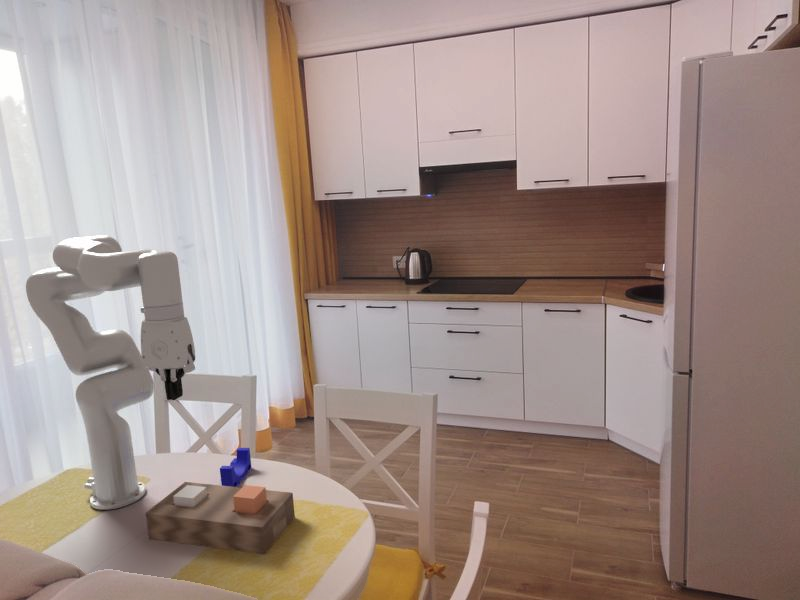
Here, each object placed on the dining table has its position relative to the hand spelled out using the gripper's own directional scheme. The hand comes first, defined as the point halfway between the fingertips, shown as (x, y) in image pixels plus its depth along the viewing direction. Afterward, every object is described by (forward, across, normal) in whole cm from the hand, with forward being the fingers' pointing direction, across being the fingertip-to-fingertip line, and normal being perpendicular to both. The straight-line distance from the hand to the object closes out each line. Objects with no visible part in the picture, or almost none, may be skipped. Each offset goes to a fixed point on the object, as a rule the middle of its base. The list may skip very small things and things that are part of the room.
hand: (174, 397), depth 124 cm
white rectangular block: (+31, -2, +3) cm, 31 cm away
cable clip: (+32, -4, +24) cm, 40 cm away
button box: (+31, +6, +3) cm, 32 cm away
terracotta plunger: (+29, +13, +3) cm, 32 cm away
